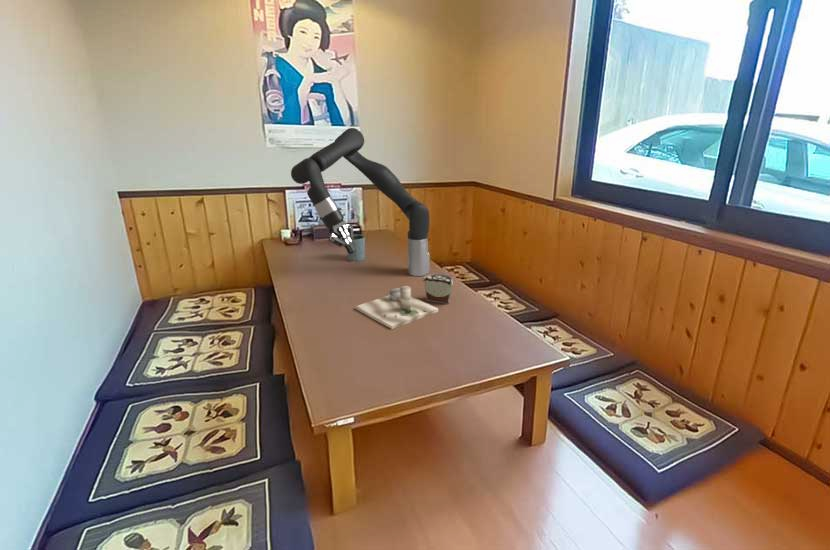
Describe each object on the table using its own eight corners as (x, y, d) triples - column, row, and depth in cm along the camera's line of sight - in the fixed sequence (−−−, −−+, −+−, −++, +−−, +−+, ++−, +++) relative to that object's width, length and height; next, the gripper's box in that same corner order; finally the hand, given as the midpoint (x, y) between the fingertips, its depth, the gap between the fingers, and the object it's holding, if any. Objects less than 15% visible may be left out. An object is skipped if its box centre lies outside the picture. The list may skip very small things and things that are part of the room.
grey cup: (369, 258, 230) (368, 236, 226) (357, 263, 222) (356, 240, 218) (354, 255, 236) (353, 233, 232) (342, 260, 228) (340, 238, 224)
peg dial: (388, 296, 177) (387, 276, 175) (402, 294, 179) (401, 275, 176) (402, 314, 161) (401, 293, 158) (417, 311, 163) (417, 291, 160)
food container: (457, 298, 178) (457, 275, 174) (451, 304, 172) (452, 280, 169) (429, 294, 183) (429, 271, 179) (423, 299, 177) (422, 276, 174)
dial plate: (400, 294, 183) (400, 291, 183) (438, 311, 167) (438, 308, 166) (355, 309, 170) (355, 305, 169) (392, 329, 153) (391, 325, 153)
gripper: (333, 209, 168) (356, 248, 173) (311, 222, 158) (336, 263, 163) (346, 202, 164) (369, 242, 168) (324, 215, 154) (349, 257, 158)
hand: (352, 252), depth 165 cm, fingers closed
